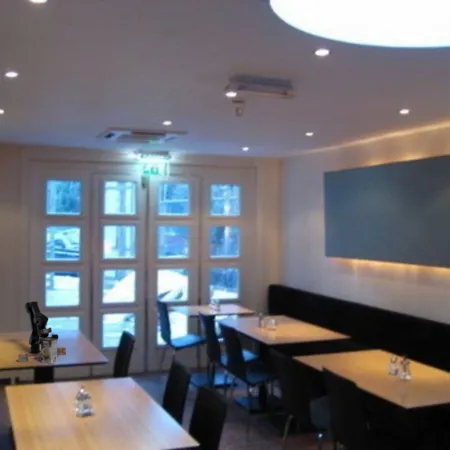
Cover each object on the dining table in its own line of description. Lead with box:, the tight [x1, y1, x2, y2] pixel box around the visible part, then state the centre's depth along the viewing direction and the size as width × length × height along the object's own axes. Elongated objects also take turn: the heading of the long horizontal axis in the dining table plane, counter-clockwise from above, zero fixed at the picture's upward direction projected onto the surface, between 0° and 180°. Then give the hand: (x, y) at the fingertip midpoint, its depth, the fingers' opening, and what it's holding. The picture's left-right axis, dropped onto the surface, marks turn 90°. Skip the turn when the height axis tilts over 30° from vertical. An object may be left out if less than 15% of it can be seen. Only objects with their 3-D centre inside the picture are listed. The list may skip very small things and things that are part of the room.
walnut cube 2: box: [57, 346, 67, 357], centre depth 433 cm, size 5×5×5 cm
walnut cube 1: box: [17, 353, 29, 363], centre depth 413 cm, size 5×5×5 cm
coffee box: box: [40, 338, 58, 365], centre depth 411 cm, size 9×6×16 cm
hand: (46, 349), depth 416 cm, fingers closed
